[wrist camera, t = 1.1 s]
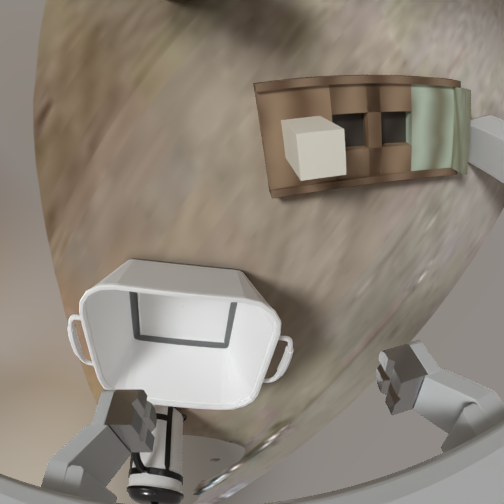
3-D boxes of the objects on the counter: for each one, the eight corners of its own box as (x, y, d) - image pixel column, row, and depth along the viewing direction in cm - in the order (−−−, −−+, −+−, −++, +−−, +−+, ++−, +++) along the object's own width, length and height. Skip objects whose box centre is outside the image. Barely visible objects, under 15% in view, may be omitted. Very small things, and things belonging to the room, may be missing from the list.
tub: (298, 249, 49) (319, 304, 38) (263, 358, 63) (271, 411, 52) (81, 226, 43) (47, 276, 33) (100, 342, 57) (85, 393, 47)
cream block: (285, 158, 39) (300, 180, 32) (280, 120, 36) (296, 134, 29) (323, 153, 39) (346, 174, 32) (320, 115, 36) (344, 128, 29)
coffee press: (202, 406, 72) (205, 517, 47) (170, 425, 78) (167, 521, 53) (142, 380, 65) (128, 503, 40) (115, 403, 70) (101, 506, 45)
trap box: (269, 190, 43) (274, 206, 39) (253, 83, 35) (257, 84, 31) (447, 168, 43) (465, 180, 39) (450, 79, 35) (470, 83, 31)
